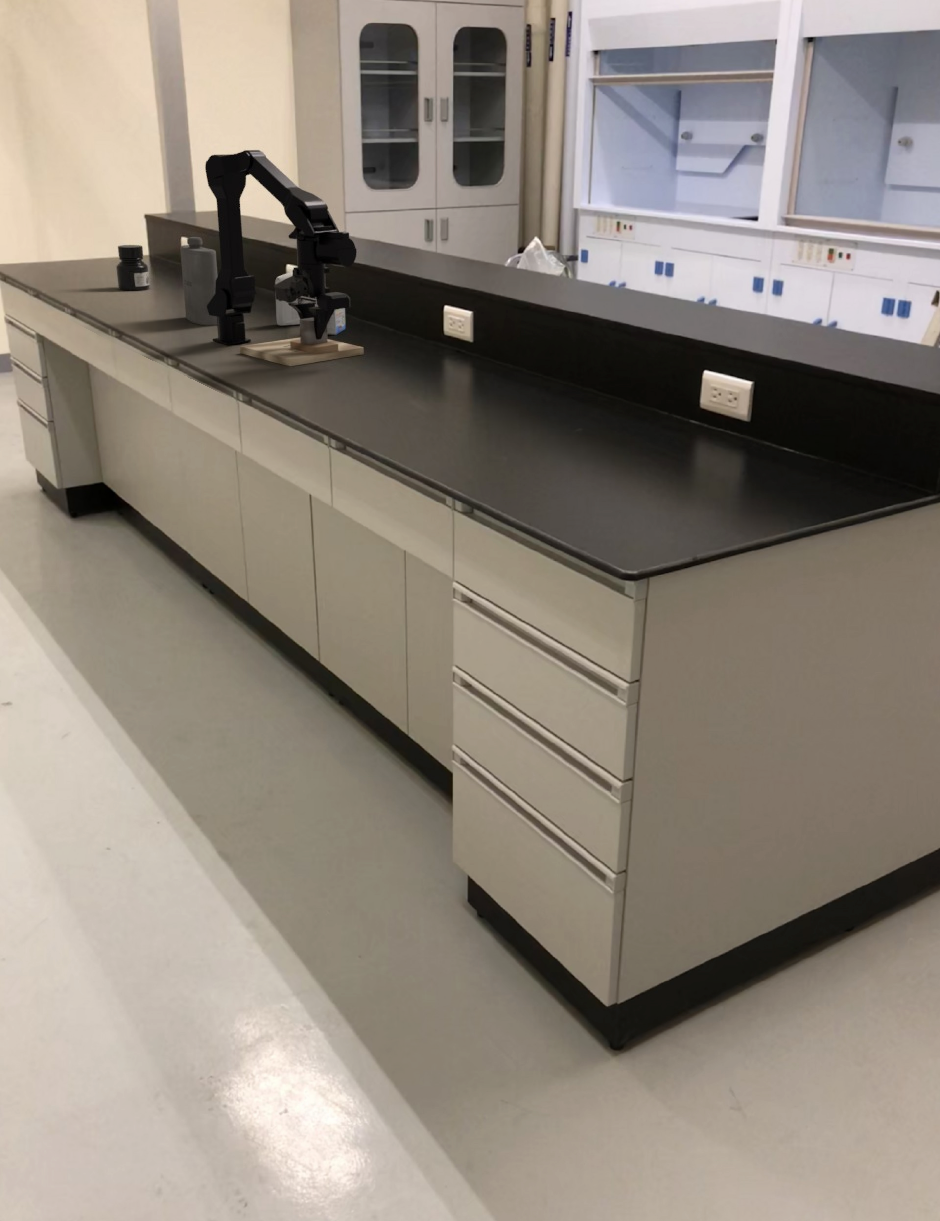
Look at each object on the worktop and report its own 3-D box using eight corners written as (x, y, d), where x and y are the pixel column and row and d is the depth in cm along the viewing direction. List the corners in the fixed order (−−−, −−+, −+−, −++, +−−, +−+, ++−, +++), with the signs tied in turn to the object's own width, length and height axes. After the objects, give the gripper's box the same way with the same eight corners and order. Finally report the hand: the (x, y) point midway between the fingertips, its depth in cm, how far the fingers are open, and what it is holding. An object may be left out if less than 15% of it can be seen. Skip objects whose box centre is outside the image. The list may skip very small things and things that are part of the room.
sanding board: (240, 353, 243) (239, 346, 242) (313, 342, 256) (312, 335, 255) (290, 366, 231) (289, 358, 231) (363, 354, 245) (363, 347, 244)
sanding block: (290, 348, 241) (289, 317, 239) (312, 344, 245) (311, 314, 243) (316, 354, 236) (315, 323, 233) (338, 350, 239) (337, 320, 237)
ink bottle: (144, 291, 322) (140, 248, 317) (114, 290, 322) (109, 247, 317) (153, 286, 331) (149, 244, 326) (124, 286, 331) (119, 243, 326)
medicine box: (335, 335, 265) (334, 297, 262) (318, 334, 266) (316, 296, 262) (345, 329, 272) (344, 293, 269) (328, 328, 273) (327, 292, 269)
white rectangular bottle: (311, 320, 282) (309, 270, 277) (319, 323, 279) (317, 272, 274) (274, 324, 277) (271, 272, 272) (281, 326, 274) (278, 274, 269)
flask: (180, 317, 283) (173, 234, 275) (202, 315, 286) (196, 234, 278) (200, 326, 272) (194, 240, 264) (223, 324, 275) (217, 239, 266)
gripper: (253, 260, 234) (257, 335, 240) (307, 270, 222) (310, 349, 228) (295, 257, 241) (298, 330, 247) (351, 266, 229) (352, 342, 235)
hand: (313, 337), depth 239 cm, fingers closed on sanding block, 3 cm apart
